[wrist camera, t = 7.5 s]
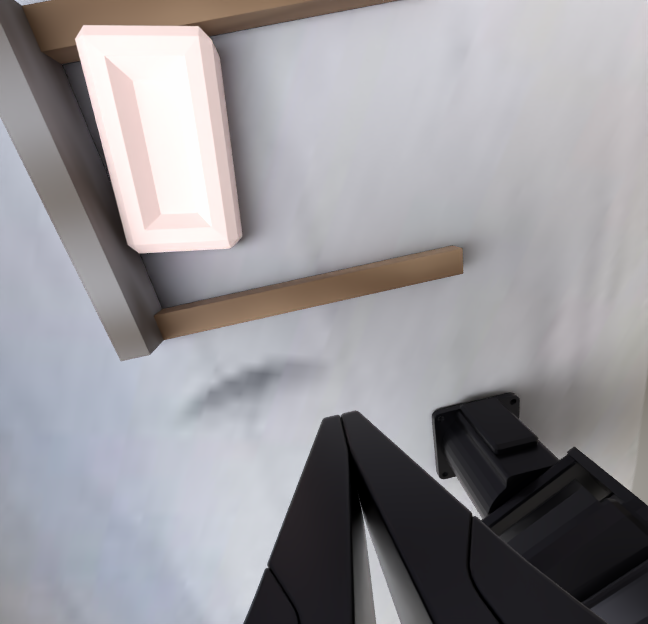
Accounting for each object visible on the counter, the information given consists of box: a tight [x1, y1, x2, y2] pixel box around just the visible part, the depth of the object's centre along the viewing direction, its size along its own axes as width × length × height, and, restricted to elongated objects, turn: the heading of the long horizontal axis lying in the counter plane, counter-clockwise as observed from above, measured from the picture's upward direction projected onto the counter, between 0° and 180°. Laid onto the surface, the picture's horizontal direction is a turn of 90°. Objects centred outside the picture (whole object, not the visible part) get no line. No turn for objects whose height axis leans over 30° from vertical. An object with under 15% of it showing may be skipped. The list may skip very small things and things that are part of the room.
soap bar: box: [75, 25, 243, 253], centre depth 15 cm, size 5×9×2 cm, turn 2°
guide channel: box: [0, 0, 463, 361], centre depth 15 cm, size 15×19×3 cm
